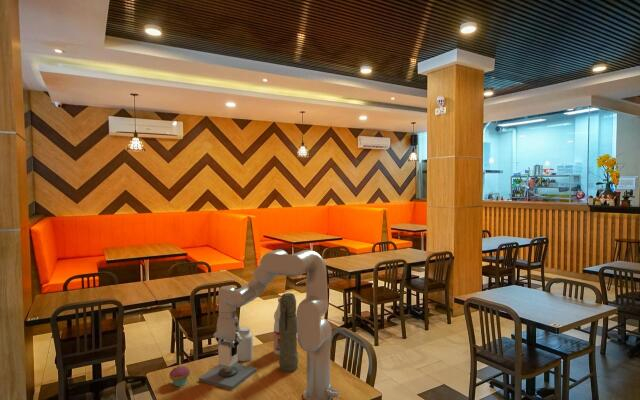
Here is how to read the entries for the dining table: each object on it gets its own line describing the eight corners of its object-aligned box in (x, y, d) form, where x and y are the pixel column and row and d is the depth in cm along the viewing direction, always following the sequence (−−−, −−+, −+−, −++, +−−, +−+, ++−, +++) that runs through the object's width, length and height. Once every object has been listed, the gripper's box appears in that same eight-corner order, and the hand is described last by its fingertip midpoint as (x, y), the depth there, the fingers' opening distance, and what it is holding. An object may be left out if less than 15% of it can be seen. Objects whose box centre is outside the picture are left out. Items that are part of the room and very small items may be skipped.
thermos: (275, 373, 179) (275, 297, 177) (282, 361, 190) (282, 290, 189) (294, 374, 177) (294, 298, 176) (300, 363, 189) (300, 291, 187)
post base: (256, 371, 181) (256, 344, 180) (232, 390, 164) (231, 361, 164) (225, 363, 188) (224, 338, 187) (198, 381, 172) (198, 353, 171)
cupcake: (169, 380, 172) (169, 354, 172) (190, 377, 175) (189, 351, 175) (169, 390, 164) (169, 362, 164) (190, 386, 167) (190, 359, 167)
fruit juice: (286, 346, 208) (285, 294, 206) (295, 352, 200) (295, 299, 199) (270, 351, 202) (270, 298, 201) (280, 357, 194) (279, 302, 193)
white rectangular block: (237, 362, 177) (237, 341, 177) (229, 368, 172) (229, 346, 171) (227, 360, 180) (226, 339, 179) (218, 365, 174) (218, 344, 174)
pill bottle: (249, 362, 189) (248, 332, 189) (233, 361, 191) (233, 330, 190) (255, 355, 197) (254, 326, 197) (240, 354, 199) (239, 325, 198)
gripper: (248, 314, 175) (248, 353, 175) (217, 309, 182) (218, 347, 183) (238, 319, 168) (238, 360, 169) (206, 314, 175) (207, 353, 176)
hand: (228, 353), depth 176 cm, fingers closed on white rectangular block, 6 cm apart
